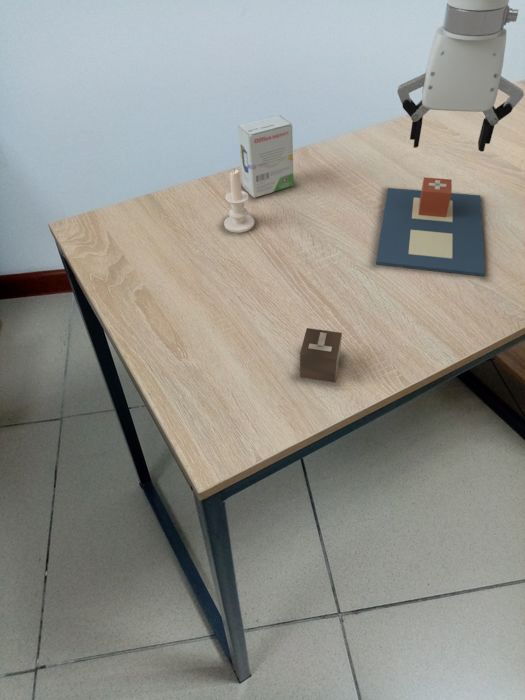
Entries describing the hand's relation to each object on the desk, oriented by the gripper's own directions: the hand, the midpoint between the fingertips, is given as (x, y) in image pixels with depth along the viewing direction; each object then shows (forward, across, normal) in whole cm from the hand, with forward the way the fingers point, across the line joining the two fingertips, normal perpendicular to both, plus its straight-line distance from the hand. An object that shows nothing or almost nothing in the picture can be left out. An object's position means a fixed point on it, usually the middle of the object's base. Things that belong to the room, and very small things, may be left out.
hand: (447, 145), depth 82 cm
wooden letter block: (+13, +13, +38) cm, 42 cm away
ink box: (+12, +30, -5) cm, 33 cm away
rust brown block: (+12, 0, -1) cm, 12 cm away
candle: (+12, +32, +8) cm, 36 cm away
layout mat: (+12, 0, +4) cm, 13 cm away
